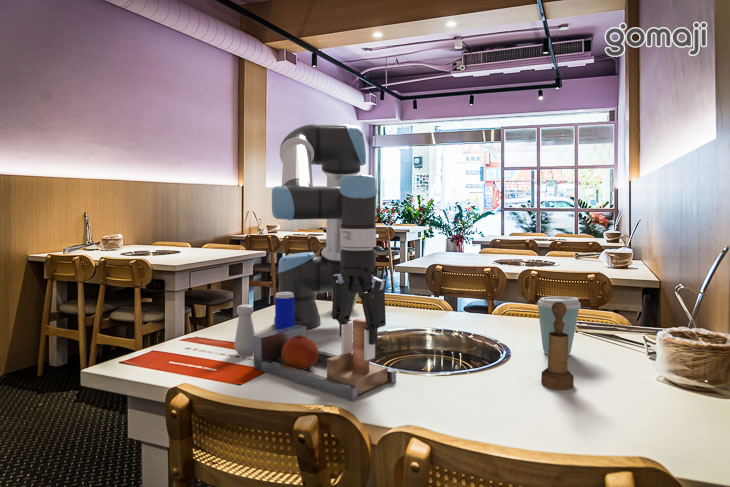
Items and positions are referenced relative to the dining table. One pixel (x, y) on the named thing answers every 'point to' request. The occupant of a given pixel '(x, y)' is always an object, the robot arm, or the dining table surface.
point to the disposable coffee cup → (549, 318)
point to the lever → (356, 364)
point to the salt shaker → (244, 331)
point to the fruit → (299, 352)
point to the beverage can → (284, 310)
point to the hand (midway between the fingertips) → (358, 355)
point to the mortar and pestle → (558, 354)
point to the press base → (271, 362)
